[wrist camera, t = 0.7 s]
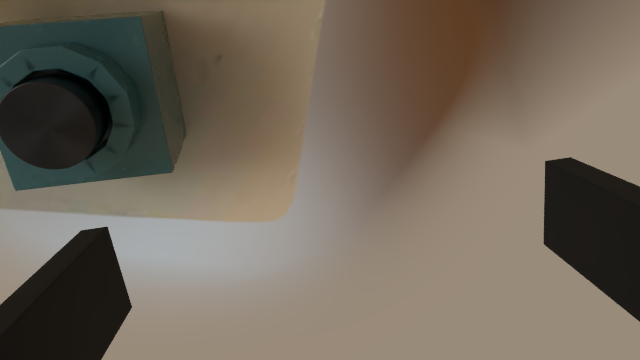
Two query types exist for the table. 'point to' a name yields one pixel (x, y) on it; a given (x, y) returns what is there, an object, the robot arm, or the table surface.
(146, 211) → the table surface
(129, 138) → the teal block with knob
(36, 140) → the push button
